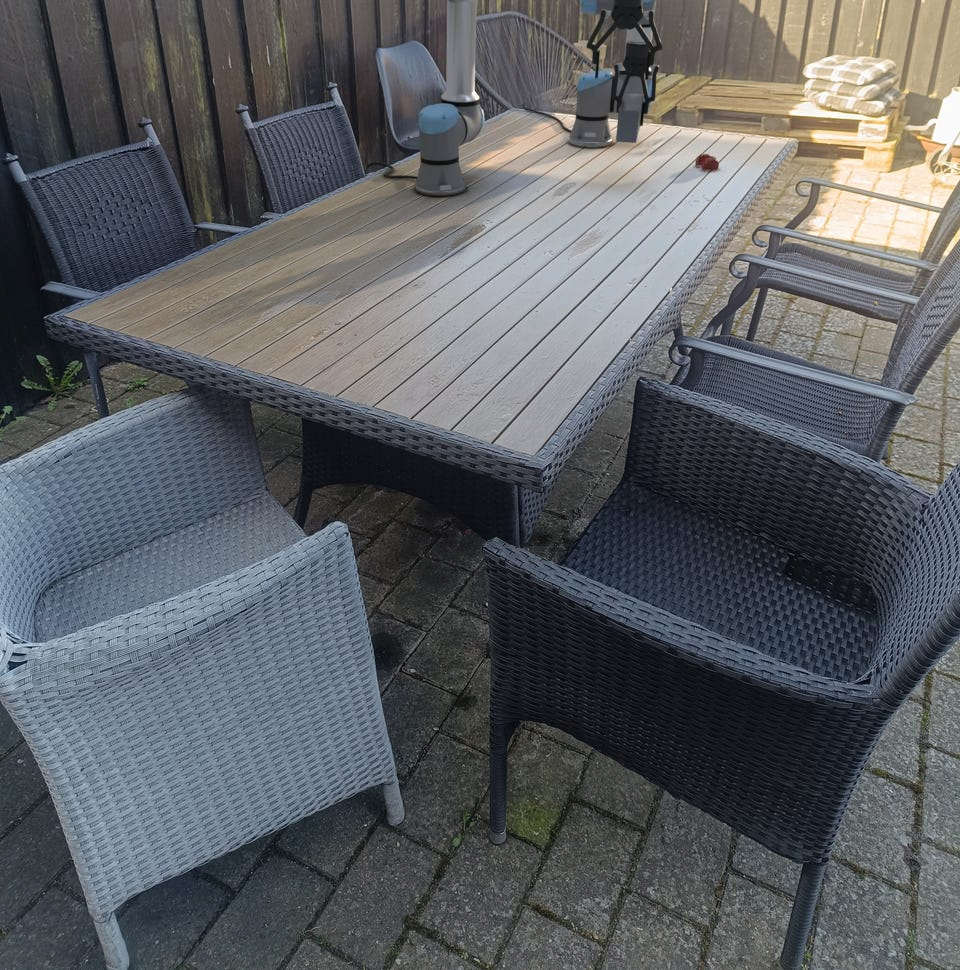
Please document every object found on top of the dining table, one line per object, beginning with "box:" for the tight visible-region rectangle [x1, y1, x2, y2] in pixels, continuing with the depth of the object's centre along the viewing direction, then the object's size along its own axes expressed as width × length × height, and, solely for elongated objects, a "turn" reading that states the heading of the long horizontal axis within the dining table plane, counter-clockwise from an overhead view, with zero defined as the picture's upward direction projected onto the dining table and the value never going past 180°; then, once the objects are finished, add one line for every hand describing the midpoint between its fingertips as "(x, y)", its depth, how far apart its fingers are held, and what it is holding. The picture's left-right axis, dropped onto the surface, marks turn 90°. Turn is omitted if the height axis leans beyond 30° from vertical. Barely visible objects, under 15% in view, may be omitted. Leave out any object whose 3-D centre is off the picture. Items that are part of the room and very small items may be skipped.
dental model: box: [694, 153, 720, 171], centre depth 277 cm, size 6×4×8 cm
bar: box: [615, 93, 644, 144], centre depth 256 cm, size 23×6×9 cm, turn 168°
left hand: (621, 78), depth 232 cm, fingers open, 13 cm apart
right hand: (630, 124), depth 264 cm, fingers closed on bar, 6 cm apart
